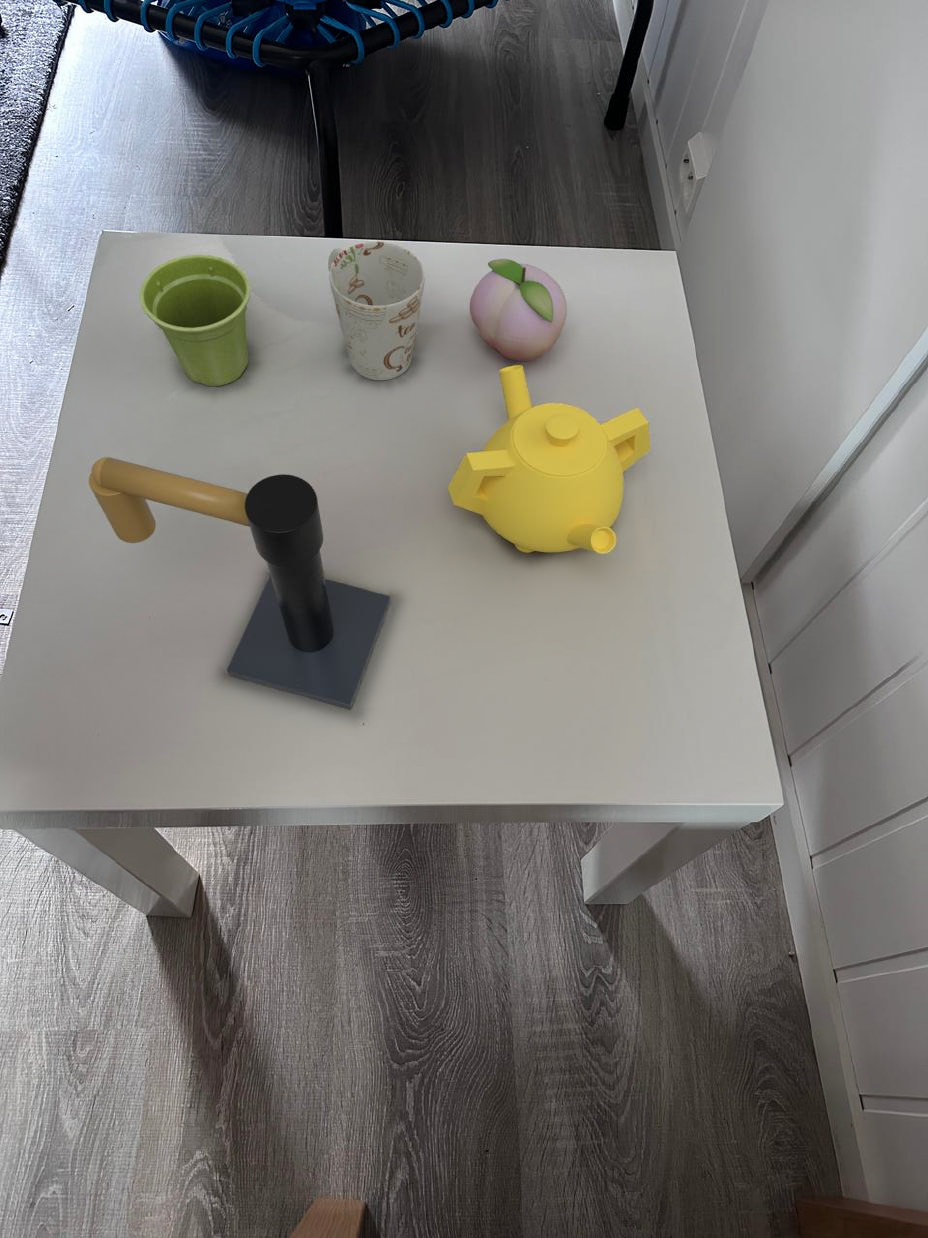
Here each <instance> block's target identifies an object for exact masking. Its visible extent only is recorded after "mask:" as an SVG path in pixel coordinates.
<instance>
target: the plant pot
mask: <svg viewBox="0 0 928 1238" xmlns="http://www.w3.org/2000/svg"><path fill="white" fill-rule="evenodd" d="M250 297H251V285H250V280H249V278H248V276H247V275H246V274H245V272H244V270H243V269H242V268H240V266H238V265H236V264H235V263H233V262H232V261H230V260H228V259H226V258H222V257H220V256H216V255H210V254H209V255H208V254H189V255H184V256H180V257H176V258H173V259H170V260H167V261H166V262H163V263H162V264H160V265H158V266H157V267H155V268H154V269H153V270H152V271H151V272H149V274H147V276H146V277H145V279H144V280H143V282H142V284H141V286H140V290H139V302H140V305H141V308H142V310H143V312H144V314H146V315H147V317H148V319H150V320H151V321H152V322H153V323H154V324H156V326H157V327H158V328H159V329H160V330H161V331H162V333H163V334H164V336H165V338H166V340H167V341H168V344H169V345H170V347H171V349H172V351H173V352H174V354H175V356H176V358H177V360H178V362H179V364H180V366H181V368H182V369H183V371H184V374H185V375H186V376H187V377H188V379H190V380H191V381H192V382H195V383H200V384H203V385H206V386H208V387H221V386H225V385H228V384H230V383H233V382H234V381H236V380H238V379H239V378H241V376H242V374H243V373H244V371H245V369H246V367H247V366H248V364H249V354H248V353H249V352H248V340H247V339H248V338H247V322H246V321H247V320H246V312H247V308H248V303H249V301H250Z"/></svg>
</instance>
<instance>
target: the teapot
mask: <svg viewBox="0 0 928 1238" xmlns="http://www.w3.org/2000/svg"><path fill="white" fill-rule="evenodd" d="M498 373H499V378H500V384H501V389H502V394H503V399H504V400H503V401H504V406H505V410H506V415H507V421H506V422H505V423H503V425H502V426H500V427H499V428H498V429H497V430H496V431H495V432H494V433H493V434H492V435H491V437H490V438H489V440H488V441H487V442H486V443H485V445H484V447H483V449H482V451H476V452H466V453H465V455H464V457H463V459H462V460H461V463H460V464H459V466H458V468H457V470H456V472H455V473H454V476H453V478H452V479H451V481H450V483H449V485H448V487H447V490H448V492H449V495H450V498H451V500H452V503H453V506H457V507H459V508H462V509H465V510H466V511H467V510H468V511H470V512H473V513H475V514H478V515H481V516H482V517H483V519H484V521H486V523H487V524H488V526H490V527H491V529H493V531H495V533H497V534H498V535H499V536H501V537H502V538H503V539H504V540H507V541H508V542H510V543H512V544H514V547H515V548H516V549H517V550H518V551H520V552H522V553H526V554H527V553H533V552H542V553H563V552H570V551H573V550H577V549H584V550H587V551H591V552H594V553H597V554H600V555H601V554H603V555H604V554H608V553H610V552H611V551H613V550H614V548H615V546H616V544H617V535H616V533H615V531H614V530H613V529H612V528H611V527H612V526H613V525H614V523H615V521H616V520H617V517H619V513H620V511H621V507H622V504H623V498H624V491H625V490H624V487H625V486H624V485H625V482H624V481H625V479H624V473H625V471H627V470H628V469H629V468H630V467H632V465H634V464H635V463H637V462H638V461H639V460H640V459H641V458H642V457H644V456H645V455H646V454H647V453H649V451H651V439H650V426H649V421H648V420H647V418H646V417H645V416H644V414H643V413H642V411H641V410H640V409H639V407H636V408H633V409H631V410H629V411H627V412H624V413H622V414H620V415H617V416H616V417H613V418H612V419H609V420H607V421H605V422H603V423H600V422H599V421H598V420H597V419H596V418H595V417H593V416H592V415H591V414H590V413H588V412H587V411H585V410H583V409H582V408H580V407H577V406H574V405H571V404H567V403H562V402H560V403H559V402H549V403H543V404H537V405H535V406H533V405H532V401H531V396H530V392H529V387H528V383H527V379H526V374H525V370H524V366H523V364H515V365H510V366H505V367H503V368H500V369H499V370H498Z"/></svg>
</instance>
